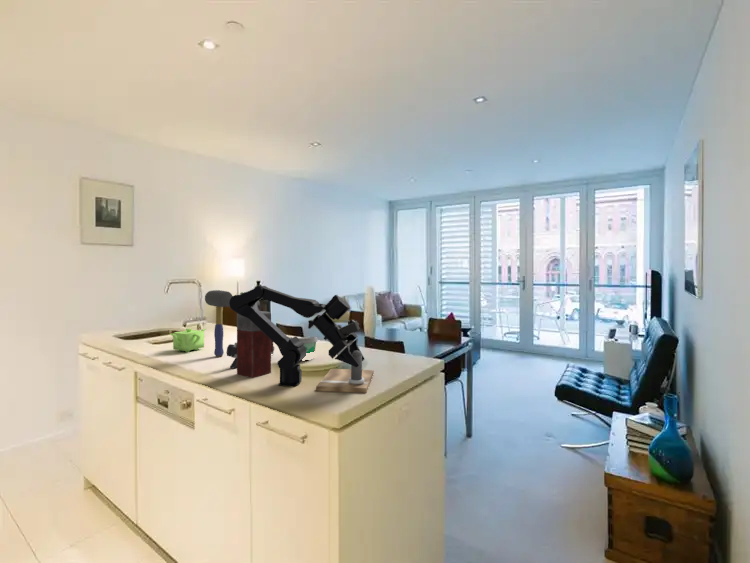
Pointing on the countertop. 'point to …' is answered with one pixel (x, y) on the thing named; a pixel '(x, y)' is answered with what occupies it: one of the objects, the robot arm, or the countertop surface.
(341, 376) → the board
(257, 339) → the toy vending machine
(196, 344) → the teapot
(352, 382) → the grey domed cylinder
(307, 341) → the food container
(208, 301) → the rubber mallet
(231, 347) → the gun
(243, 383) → the countertop surface
